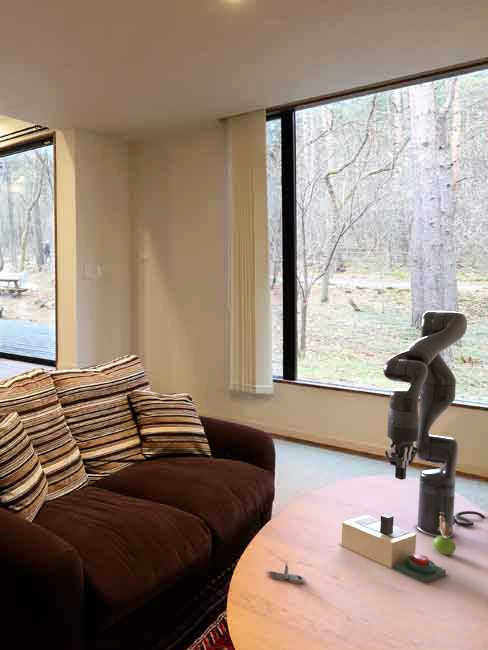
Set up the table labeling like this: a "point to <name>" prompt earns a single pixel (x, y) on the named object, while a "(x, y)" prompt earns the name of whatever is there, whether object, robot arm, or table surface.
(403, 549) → the long cream box
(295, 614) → the table surface
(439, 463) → the robot arm
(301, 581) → the grey elongated piece
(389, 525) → the slider
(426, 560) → the button
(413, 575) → the control block
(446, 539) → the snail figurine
